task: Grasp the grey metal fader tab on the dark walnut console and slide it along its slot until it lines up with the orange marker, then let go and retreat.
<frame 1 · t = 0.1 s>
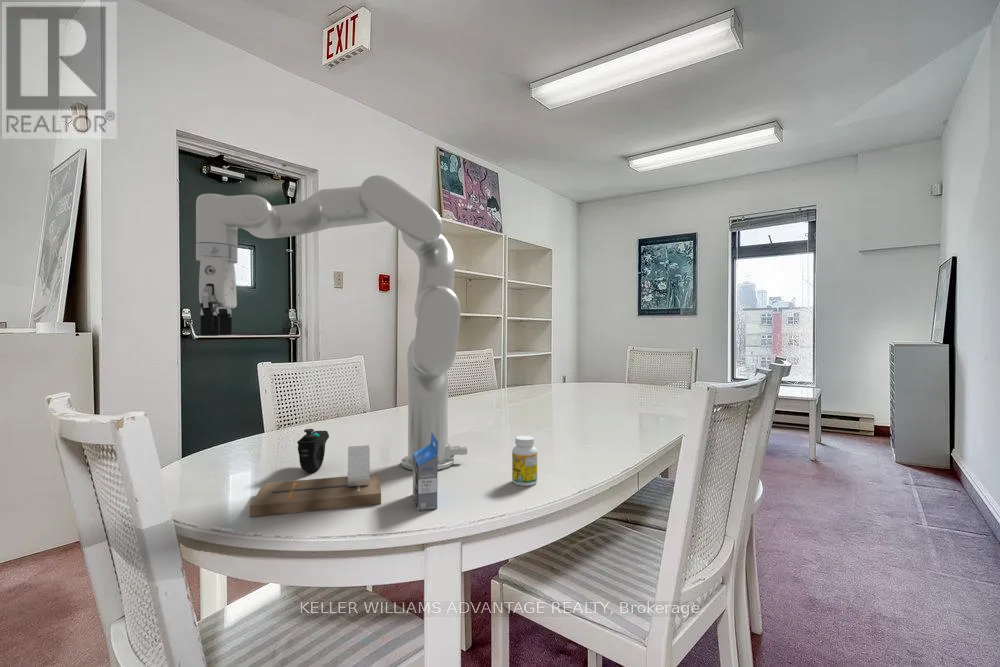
hand: (217, 335, 98), 31 cm above the table, fingers open, 9 cm apart
supplement bottle: (524, 483, 99), on the table
fader tab: (358, 465, 91), point 6 cm above the table, slide at 0.0 cm
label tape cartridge: (424, 502, 87), on the table
controller: (313, 470, 107), on the table
fader console: (320, 498, 89), on the table
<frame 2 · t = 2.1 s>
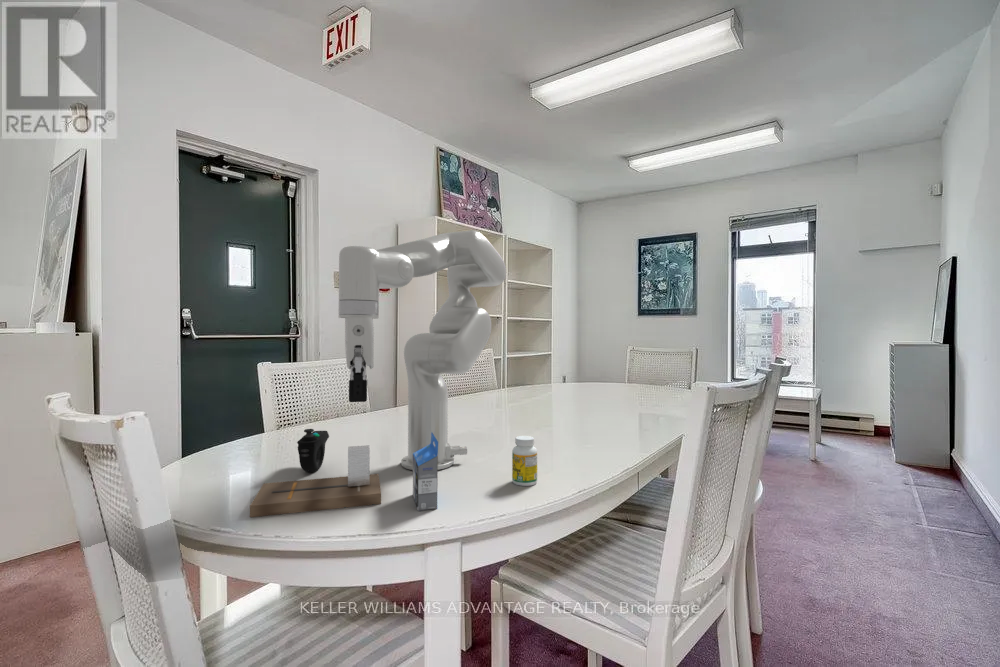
hand: (357, 398, 90), 19 cm above the table, fingers open, 9 cm apart
nothing on the table moved.
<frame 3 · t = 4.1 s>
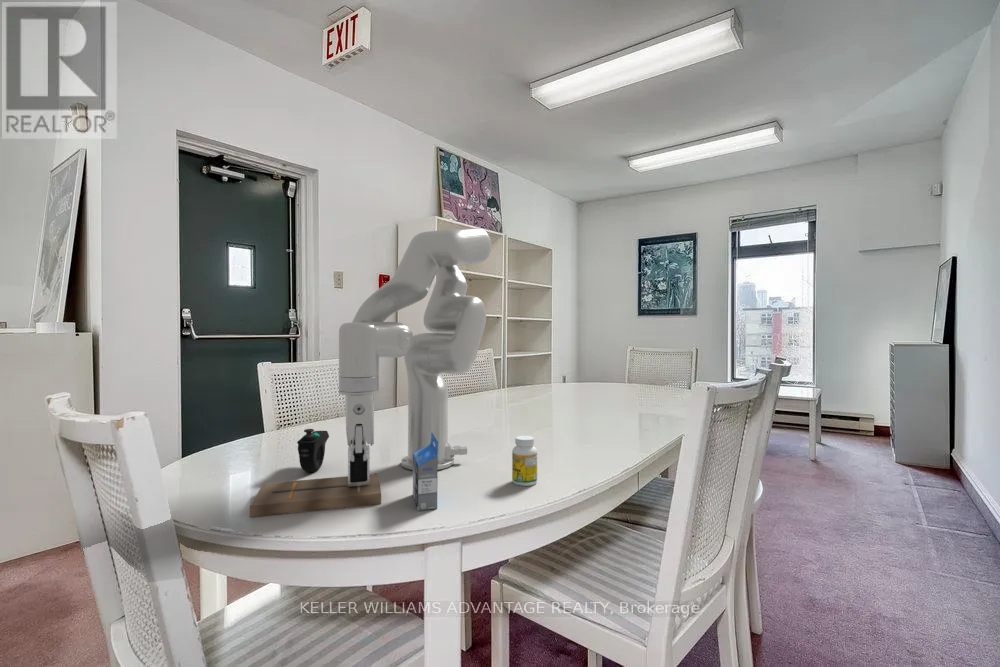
hand: (358, 477, 91), 3 cm above the table, fingers closed on fader tab, 3 cm apart
fader tab: (358, 465, 91), point 6 cm above the table, slide at 0.0 cm, touching gripper
everything else where it was.
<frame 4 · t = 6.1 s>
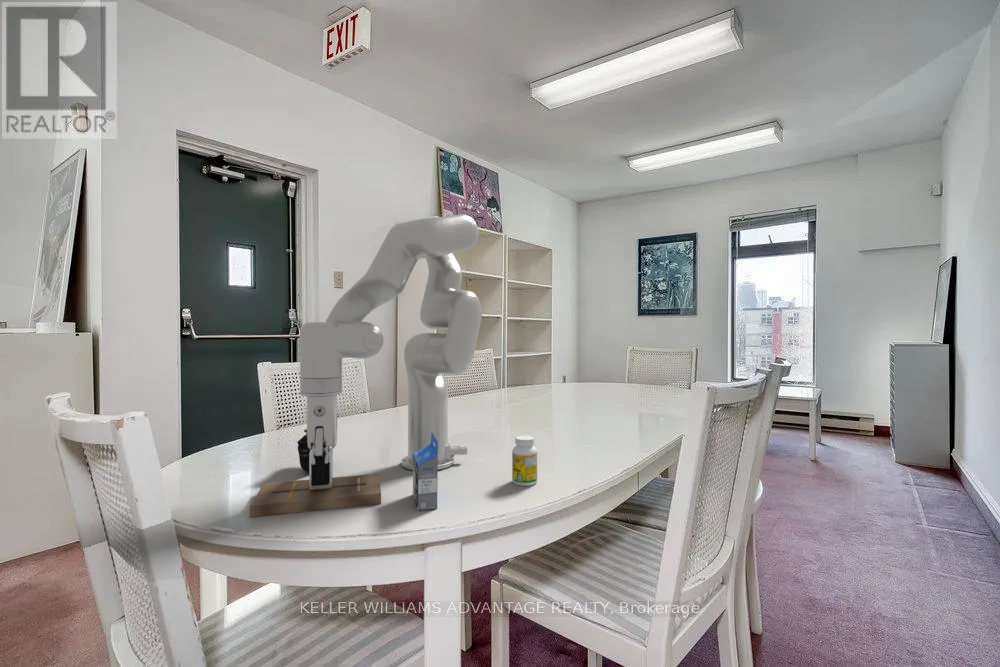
hand: (321, 480, 89), 3 cm above the table, fingers closed on fader tab, 3 cm apart
fader tab: (321, 468, 89), point 6 cm above the table, slide at 6.9 cm, touching gripper
everything else where it was.
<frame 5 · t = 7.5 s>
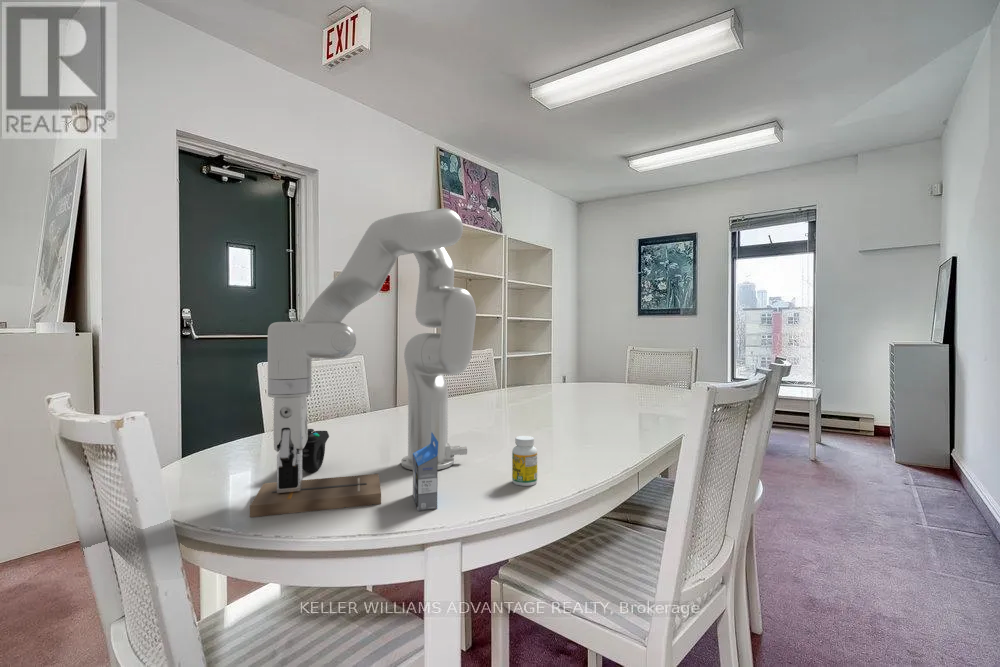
hand: (289, 483, 87), 3 cm above the table, fingers closed on fader tab, 3 cm apart
fader tab: (289, 470, 87), point 6 cm above the table, slide at 12.5 cm, touching gripper
everything else where it was.
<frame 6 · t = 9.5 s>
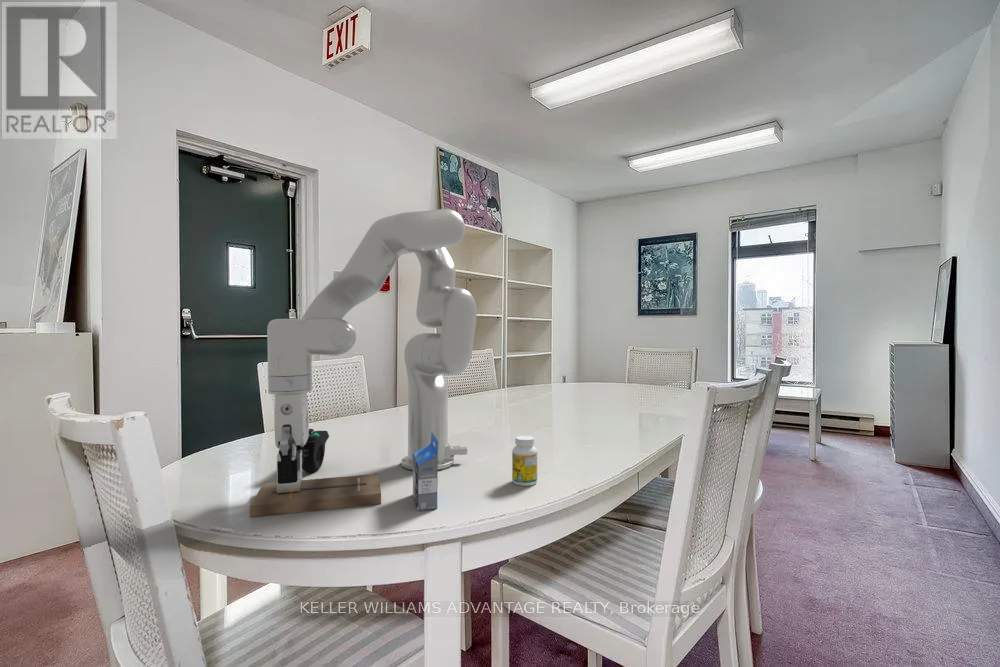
hand: (291, 474, 87), 5 cm above the table, fingers open, 9 cm apart
fader tab: (289, 470, 87), point 6 cm above the table, slide at 12.5 cm
everything else where it was.
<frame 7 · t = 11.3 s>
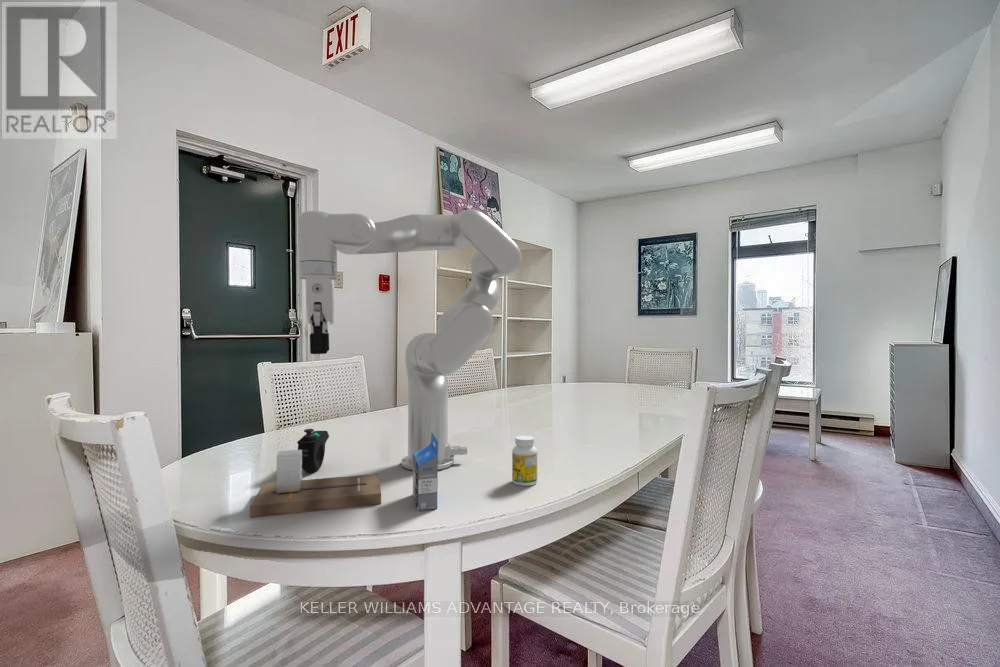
hand: (320, 352, 98), 28 cm above the table, fingers open, 9 cm apart
nothing on the table moved.
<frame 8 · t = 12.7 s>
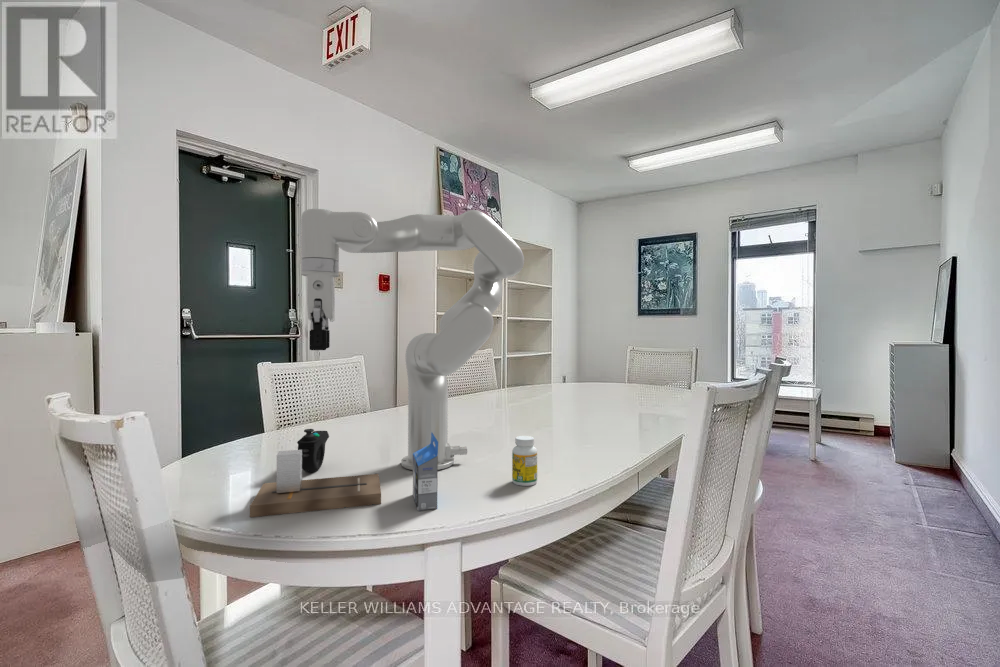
hand: (320, 349, 99), 28 cm above the table, fingers open, 9 cm apart
nothing on the table moved.
at the end: fader tab slide at 12.5 cm; the gripper is holding nothing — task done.
